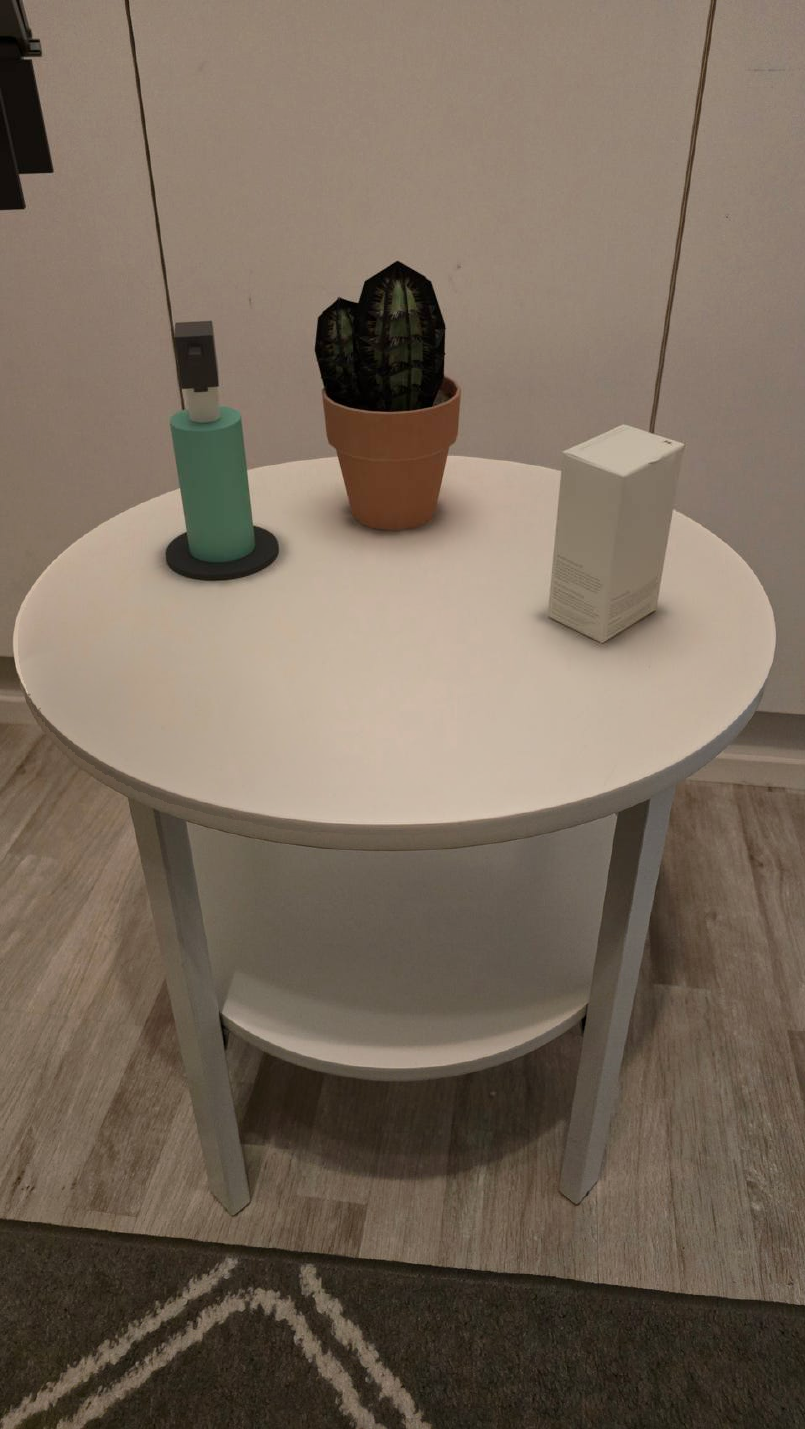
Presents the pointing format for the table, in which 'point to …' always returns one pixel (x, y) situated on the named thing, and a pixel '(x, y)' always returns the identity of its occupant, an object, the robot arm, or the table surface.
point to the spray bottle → (210, 454)
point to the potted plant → (388, 397)
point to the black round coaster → (199, 569)
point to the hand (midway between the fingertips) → (18, 190)
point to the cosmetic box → (612, 530)
